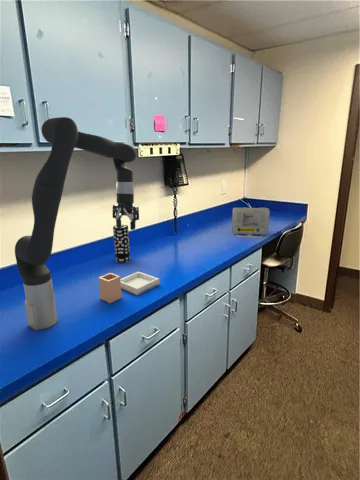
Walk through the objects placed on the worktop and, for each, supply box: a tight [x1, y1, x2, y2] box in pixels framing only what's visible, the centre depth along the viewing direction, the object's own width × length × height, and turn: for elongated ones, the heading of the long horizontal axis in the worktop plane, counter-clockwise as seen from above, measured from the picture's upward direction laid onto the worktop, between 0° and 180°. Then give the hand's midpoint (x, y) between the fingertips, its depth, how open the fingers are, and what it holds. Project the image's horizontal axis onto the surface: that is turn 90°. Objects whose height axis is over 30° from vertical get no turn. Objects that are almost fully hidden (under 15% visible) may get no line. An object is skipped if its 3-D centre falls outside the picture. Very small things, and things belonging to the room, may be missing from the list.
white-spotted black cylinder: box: [112, 224, 131, 264], centre depth 174 cm, size 8×8×20 cm
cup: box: [98, 272, 123, 304], centre depth 131 cm, size 6×6×10 cm
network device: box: [231, 207, 271, 238], centre depth 220 cm, size 26×9×20 cm, turn 82°
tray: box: [120, 271, 160, 296], centre depth 144 cm, size 14×14×3 cm
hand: (125, 228), depth 138 cm, fingers open, 8 cm apart
